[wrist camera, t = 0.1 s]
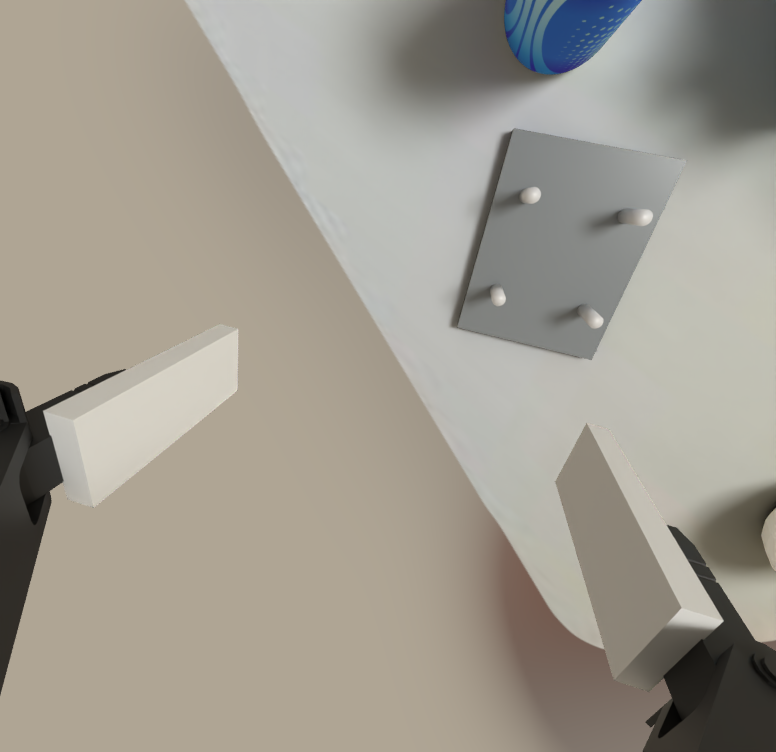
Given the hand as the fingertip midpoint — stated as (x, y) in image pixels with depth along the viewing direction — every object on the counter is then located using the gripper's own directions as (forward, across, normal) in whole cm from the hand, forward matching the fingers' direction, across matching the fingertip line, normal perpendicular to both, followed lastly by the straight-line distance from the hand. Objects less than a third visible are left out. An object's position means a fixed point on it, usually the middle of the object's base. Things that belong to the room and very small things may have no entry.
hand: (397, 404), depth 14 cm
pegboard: (+28, +10, +4) cm, 30 cm away
